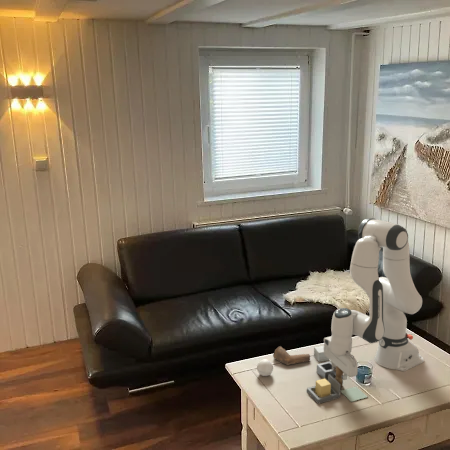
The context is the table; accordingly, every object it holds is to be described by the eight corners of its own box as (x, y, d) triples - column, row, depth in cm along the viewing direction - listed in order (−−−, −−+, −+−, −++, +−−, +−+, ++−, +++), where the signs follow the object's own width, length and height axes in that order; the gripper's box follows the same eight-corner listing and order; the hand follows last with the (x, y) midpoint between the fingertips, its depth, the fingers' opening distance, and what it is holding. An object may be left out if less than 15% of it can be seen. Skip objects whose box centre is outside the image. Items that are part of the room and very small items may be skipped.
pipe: (313, 354, 239) (304, 340, 248) (279, 359, 235) (271, 346, 243) (311, 365, 242) (302, 351, 250) (278, 371, 237) (270, 357, 246)
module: (324, 390, 220) (324, 378, 218) (330, 396, 216) (330, 384, 214) (315, 393, 218) (315, 380, 216) (320, 399, 214) (321, 386, 212)
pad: (356, 387, 222) (356, 386, 221) (367, 397, 214) (367, 396, 214) (340, 391, 219) (340, 390, 219) (351, 402, 212) (351, 401, 212)
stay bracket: (329, 368, 235) (330, 361, 234) (338, 376, 229) (338, 368, 228) (316, 372, 233) (316, 364, 232) (324, 380, 227) (325, 372, 226)
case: (328, 385, 223) (329, 373, 221) (340, 397, 215) (341, 384, 213) (306, 391, 219) (307, 379, 217) (318, 403, 211) (318, 391, 209)
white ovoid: (269, 369, 236) (269, 354, 234) (275, 377, 229) (275, 363, 227) (248, 372, 233) (248, 358, 231) (254, 381, 227) (254, 367, 224)
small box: (329, 360, 242) (329, 351, 241) (318, 362, 241) (318, 352, 240) (324, 354, 248) (324, 345, 246) (313, 355, 246) (313, 346, 245)
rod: (339, 382, 225) (341, 362, 222) (343, 386, 222) (345, 366, 219) (333, 384, 224) (335, 363, 221) (337, 388, 221) (339, 367, 218)
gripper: (362, 356, 209) (360, 386, 213) (334, 333, 228) (332, 361, 232) (349, 359, 207) (347, 389, 211) (321, 336, 225) (320, 364, 229)
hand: (339, 374), depth 222 cm, fingers open, 6 cm apart
